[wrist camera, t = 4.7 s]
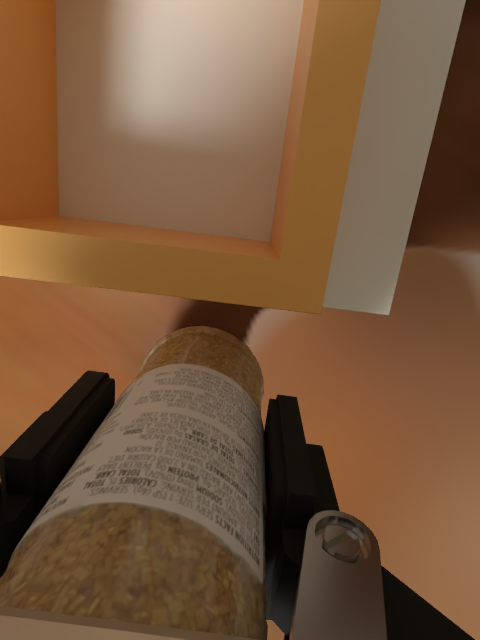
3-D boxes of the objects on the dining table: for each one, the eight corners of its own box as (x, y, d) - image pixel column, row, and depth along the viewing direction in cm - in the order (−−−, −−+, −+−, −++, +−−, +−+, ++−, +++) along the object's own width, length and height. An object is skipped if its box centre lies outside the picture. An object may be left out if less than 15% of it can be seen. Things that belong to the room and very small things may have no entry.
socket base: (464, -53, 11) (622, -235, 7) (379, 307, 15) (444, 360, 10) (-90, -133, 11) (-345, -385, 6) (-51, 255, 14) (-201, 283, 10)
